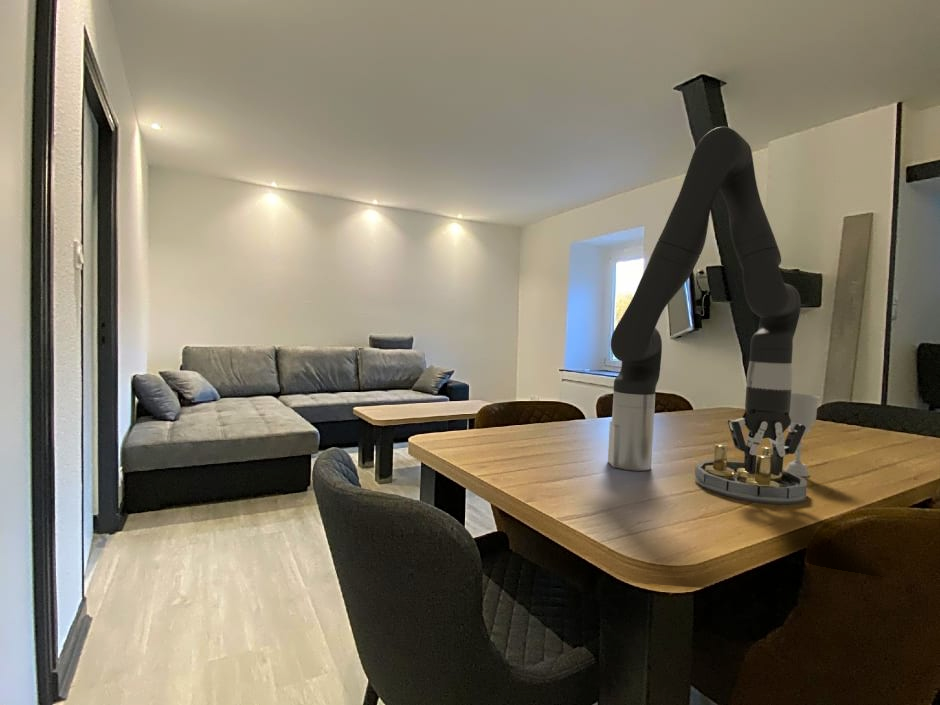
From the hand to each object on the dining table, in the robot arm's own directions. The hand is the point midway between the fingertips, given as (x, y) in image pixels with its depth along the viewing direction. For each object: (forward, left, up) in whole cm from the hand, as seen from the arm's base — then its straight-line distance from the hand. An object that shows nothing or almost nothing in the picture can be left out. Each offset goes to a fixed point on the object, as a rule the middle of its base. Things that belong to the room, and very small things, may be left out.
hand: (762, 473), depth 98 cm
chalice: (+17, +20, -5) cm, 26 cm away
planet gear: (0, 0, -3) cm, 3 cm away
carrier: (0, +6, -5) cm, 7 cm away
